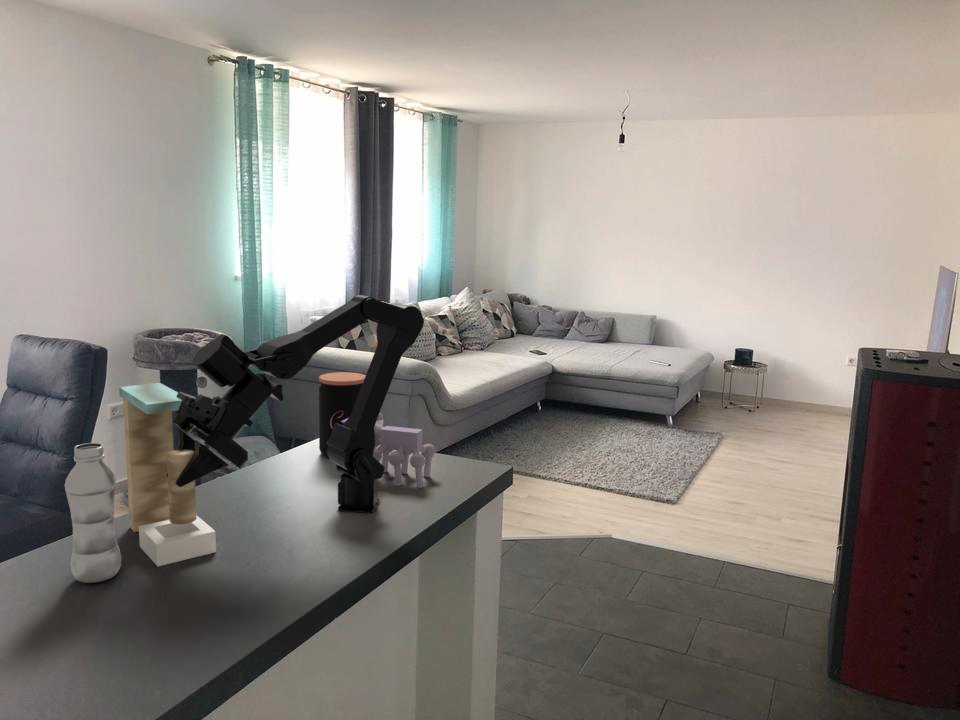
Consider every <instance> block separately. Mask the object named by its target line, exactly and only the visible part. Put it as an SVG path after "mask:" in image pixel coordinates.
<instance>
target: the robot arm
mask: <svg viewBox="0 0 960 720" xmlns="http://www.w3.org/2000/svg"><path fill="white" fill-rule="evenodd" d="M367 321H369V322H373V323H376V324H377V325H376V329H375V330H376V331H375V332H376V342H377V343H376V349H375V351H374V353H373V355H372V359H371V362H370V364H369V367H368V368H367V372H366V374H365V375H366V376H365V379H364V382H363V384H362V387H361V389H360V392H359V394H358V397H357V400H356V402H355V405H354V407H353V410H352V412H351V415H350V417H349V418H348V420H347V421H346V422H344V423H343V424H342V425H340V424H337V423H335V424H334V426H333V429H332V434H331V436H330V438H329V440H328V441H327V442H326V444H329V445H328V449H327V454H328V456H329V458H328V460H329V461H331V463H332V464H333V465H334V466H335V469H336V471H338V472H341V473H342V474H341V475H340V481H339V482H338V483H337V504H338V507H337V511H339V512H354V513H367V514H371V513H373V512H374V511H375V509H376V508H377V506H378V505H379V503H380V501H381V500H380V498H378V482H377V479H379V480H380V479H382V478H383V474H384V469H385V467H384V466H383V465H382V462H380V461H379V462H378V461H377V460H376V459H375V458H374V457H373V453H374V449H376V448H375V431H374V427H375V424H376V421H377V419H378V416H379V413H381V410H382V408H383V405H384V402H385V400H386V399H387V398H386V397H387V394H388V392H389V390H390V387H391V384H392V383H393V380H394V377H395V375H396V372H397V369H398V367H399V364H400V361H401V358H402V356H403V355H404V353H406V352H407V350H409V348H411V346H413V345H414V344H415V342H416V341H417V339H418V338H419V335H420V333H421V332H422V330H423V327H424V325H425V318H424V317H423V313H422V311H421V310H420V309H419V308H418V307H417V306H413V305H407V304H402V303H396V302H393V303H388V302H384V301H381V300H378V299H376V298H375V297H373V296H367V295H363V294H358V295H355V296H353V297H352V298H350V300H349V301H347V302H345V303H344V304H343V305H341V306H339V307H337V308H336V309H334V310H332V311H330V312H329V313H328V314H326V315H324V316H323V317H321V318H319V319H318V320H316V321H314V322H312V323H311V324H309V325H307V326H306V327H304V328H303V329H301V330H298V331H296V332H293V333H292V332H291V333H289V334H284V335H280V336H277V337H276V338H273V339H269V340H268V341H265V342H263V343H262V344H261V345H259V346H258V348H255V349H251V350H246V351H243V350H242V349H241V348H240V347H239V346H237V345H236V343H235V342H234V341H233V339H232V338H231V337H229V336H228V335H227V334H224V333H220V334H219V335H218V336H217V338H215V339H213V340H210V341H209V342H208V343H206V344H205V345H203V346H201V347H200V348H199V350H197V352H196V353H195V355H194V357H193V358H192V365H193V366H194V367H195V368H197V370H199V371H200V372H201V373H203V374H204V376H206V377H207V378H208V379H209V380H211V381H212V383H214V384H215V385H216V386H217V387H219V388H224V387H230V388H229V389H228V390H227V391H226V392H225V394H223V396H222V397H221V396H213V398H211V397H209V396H205V395H203V394H198V395H197V396H193V395H191V394H187V393H185V392H182V391H177V392H178V394H177V396H176V397H177V398H179V399H181V400H182V403H181V405H180V407H179V410H178V411H175V413H176V414H177V415H176V417H175V418H173V419H172V424H175V425H176V426H177V427H179V428H177V432H178V434H179V436H178V437H179V441H180V442H179V443H180V444H179V445H178V449H177V450H181V449H187V450H192V451H194V455H193V457H192V458H191V459H190V461H189V462H188V464H187V465H186V467H185V468H184V470H183V471H182V472H181V474H180V475H179V477H178V479H177V480H176V482H175V484H176V485H178V486H179V487H182V486H184V485H186V484H188V483H190V482H192V481H194V480H195V481H196V480H198V479H201V478H203V477H204V476H206V475H208V474H211V473H213V472H215V471H218V470H220V469H222V468H224V467H225V468H228V466H229V464H228V462H227V461H229V462H230V464H231V465H233V466H234V467H236V468H237V469H239V470H241V469H242V468H243V466H244V465H245V464H246V463H247V462H248V460H249V451H248V450H246V449H244V447H243V446H241V445H240V444H239V443H238V442H236V441H235V440H234V439H235V438H236V437H237V435H238V434H239V433H240V432H241V431H242V429H244V428H245V427H248V428H250V427H252V425H253V424H254V422H253V421H252V420H251V419H252V418H253V417H254V415H255V414H256V413H257V412H258V411H259V410H260V408H262V407H263V405H264V404H265V403H266V401H267V400H268V399H269V398H270V397H271V398H272V399H275V400H277V401H280V402H282V401H283V400H284V394H283V383H282V384H281V383H280V382H272V381H271V380H270V379H269V378H268V377H267V376H266V375H269V376H271V377H274V378H277V379H280V380H284V381H285V380H289V379H292V378H293V377H295V376H296V375H297V374H298V373H299V372H301V371H302V370H303V369H305V367H306V366H307V365H308V364H309V362H310V361H311V360H312V358H313V356H314V355H315V354H317V353H318V351H320V350H322V349H324V348H325V347H326V346H328V345H330V344H332V343H333V342H335V341H336V340H337V339H340V338H341V337H343V336H344V335H346V334H347V333H349V332H351V331H352V330H354V329H355V328H358V327H359V326H360V325H361V324H363V323H365V322H367ZM249 367H251V368H252V369H256V370H258V371H260V372H262V373H259V372H258V373H254V372H253V371H252V370H251V369H250V368H249ZM264 374H266V375H264ZM166 476H167V477H168V472H167V474H166Z"/></svg>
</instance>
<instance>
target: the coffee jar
mask: <svg viewBox="0 0 960 720" xmlns="http://www.w3.org/2000/svg"><path fill="white" fill-rule="evenodd" d="M365 376H366V374H363V373H359V372H351V371H349V372H348V371H346V372H345V371H340V372H327V373H324V374H321V375H319V376H318V381H319V382H320V386H319V387H318V430H319V431H318V435H319V436H318V438H319V439H318V441H319V442H318V443H319V444H318V445H319V446H318V447H319V451H320V453H321V454H322V456H323V457H324V458H325V459H329V456H328V454H327V449H328V445H329V444H326V442H327V441H328V440H329V438H330V436H331V434H332V429H333V426H334V424H335V423H337V424H340V425H342V424H343V422H341V421H343V420H345V419H347V418H349V417H350V415H351V412H352V410H353V407H354V405H355V402H356V400H357V397H358V394H359V392H360V389H361V387H362V384H363V382H364V379H365Z"/></svg>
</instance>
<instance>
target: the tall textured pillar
mask: <svg viewBox="0 0 960 720" xmlns="http://www.w3.org/2000/svg"><path fill="white" fill-rule="evenodd" d="M118 390H119V391H118V392H119V395H118V396H119V397H120V398H122V406H123V423H124V424H123V425H124V443H125V446H124V447H125V461H126V479H127V483H126V484H127V498H128V513H129V515H128V516H129V517H128V518H129V528H130V529H131V530H132V532H134V533H137V532H139V526H142V525H146V524H151V523H156V522H161V521H165V520H170V518H169V493H168V477H167V476H166V474H167V472H168V467H167V453H168V452H170V451H174V450H175V449H174V431H173V430H174V429H173V412H176V411H178V410H179V407H180V405H181V403H182V400H181V399H179V398H177V397H176V396H177V394H178V392H179V391H176V390H174V389H172V388H170V387H168V386H167V385H165V384H163V383H161V382H154V383H143V384H135V385H133V384H132V385H126V386H119V387H118Z"/></svg>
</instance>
